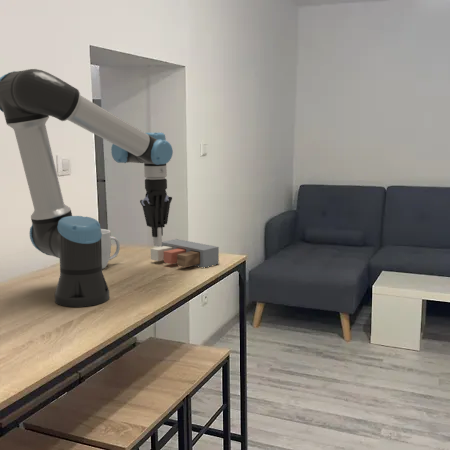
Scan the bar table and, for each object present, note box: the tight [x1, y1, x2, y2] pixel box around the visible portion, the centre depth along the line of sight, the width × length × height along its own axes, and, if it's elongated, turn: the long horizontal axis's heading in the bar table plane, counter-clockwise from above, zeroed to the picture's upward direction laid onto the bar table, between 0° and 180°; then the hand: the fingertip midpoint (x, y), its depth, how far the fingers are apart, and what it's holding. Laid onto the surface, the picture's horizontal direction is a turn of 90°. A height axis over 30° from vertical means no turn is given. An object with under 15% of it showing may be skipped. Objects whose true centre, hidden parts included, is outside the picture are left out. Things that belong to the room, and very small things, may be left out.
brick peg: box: [163, 248, 186, 265], centre depth 201 cm, size 9×4×4 cm, turn 139°
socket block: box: [162, 238, 220, 269], centre depth 206 cm, size 8×22×6 cm, turn 49°
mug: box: [101, 228, 121, 270], centre depth 196 cm, size 15×11×13 cm
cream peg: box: [150, 245, 173, 262], centre depth 206 cm, size 9×4×4 cm, turn 139°
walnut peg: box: [176, 251, 200, 268], centre depth 196 cm, size 9×4×4 cm, turn 139°
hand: (157, 245), depth 193 cm, fingers closed
